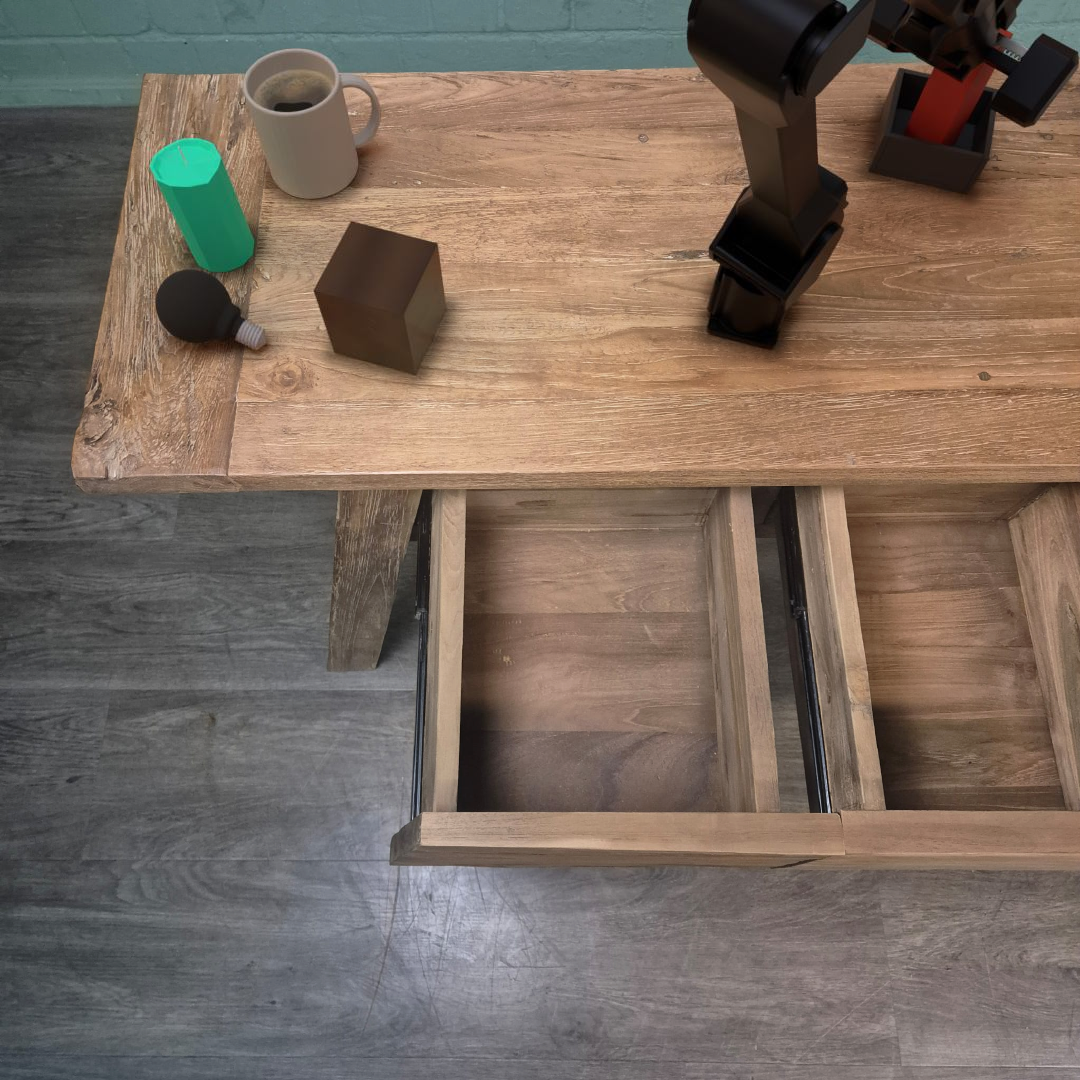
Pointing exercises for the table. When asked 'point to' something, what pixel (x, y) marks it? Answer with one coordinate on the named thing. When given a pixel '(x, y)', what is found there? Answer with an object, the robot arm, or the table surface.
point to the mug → (306, 121)
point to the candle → (203, 203)
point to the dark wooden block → (382, 297)
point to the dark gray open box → (925, 158)
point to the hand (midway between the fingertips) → (968, 69)
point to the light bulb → (203, 311)
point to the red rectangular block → (948, 104)
